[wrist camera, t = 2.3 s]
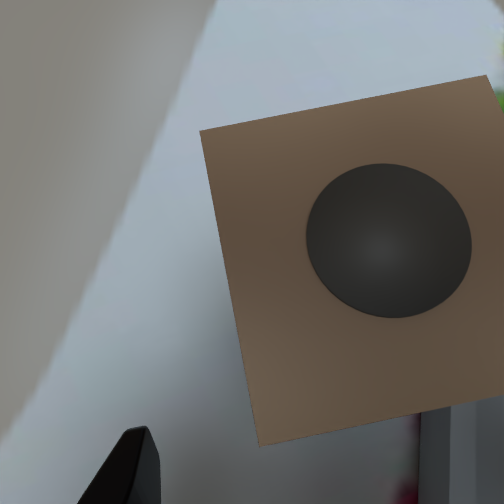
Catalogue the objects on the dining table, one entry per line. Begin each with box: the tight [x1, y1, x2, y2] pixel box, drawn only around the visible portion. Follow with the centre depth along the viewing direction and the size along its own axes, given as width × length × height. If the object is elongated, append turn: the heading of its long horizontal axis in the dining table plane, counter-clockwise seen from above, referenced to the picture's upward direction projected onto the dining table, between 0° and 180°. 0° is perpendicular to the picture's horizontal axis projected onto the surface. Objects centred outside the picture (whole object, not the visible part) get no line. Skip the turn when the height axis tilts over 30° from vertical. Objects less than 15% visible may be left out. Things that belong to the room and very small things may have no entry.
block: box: [200, 75, 504, 447], centre depth 12 cm, size 5×5×13 cm
